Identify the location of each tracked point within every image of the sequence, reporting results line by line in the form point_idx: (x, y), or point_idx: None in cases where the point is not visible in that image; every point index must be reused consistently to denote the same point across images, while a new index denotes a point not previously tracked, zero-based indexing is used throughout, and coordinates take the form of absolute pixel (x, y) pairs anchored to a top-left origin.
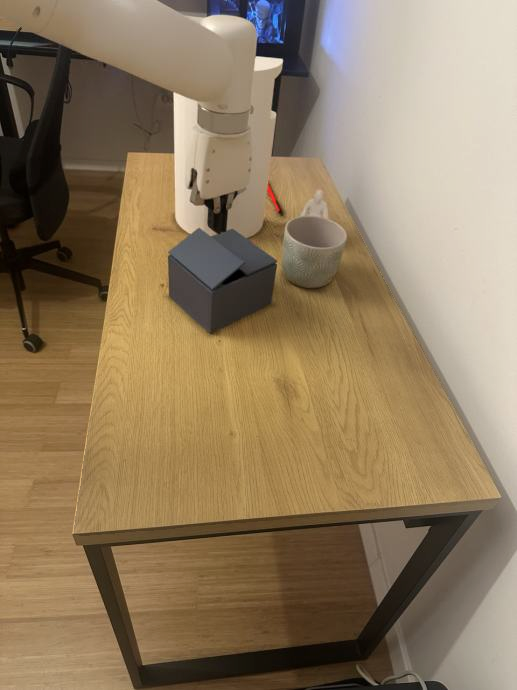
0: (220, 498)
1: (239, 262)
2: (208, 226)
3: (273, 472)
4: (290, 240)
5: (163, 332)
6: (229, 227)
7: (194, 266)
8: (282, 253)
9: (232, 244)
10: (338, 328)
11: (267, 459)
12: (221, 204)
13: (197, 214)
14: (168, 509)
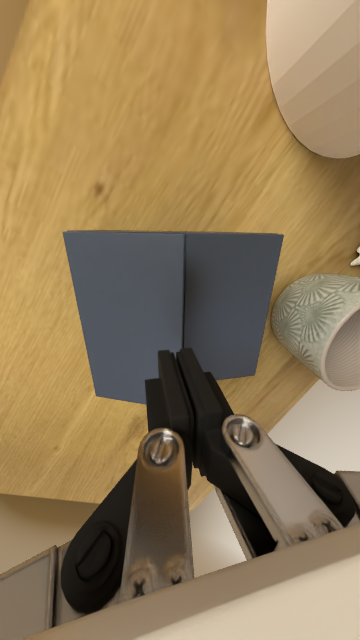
0: (14, 485)
1: None
2: (158, 354)
3: (70, 479)
4: (323, 339)
5: (45, 303)
6: (327, 126)
7: (95, 333)
8: (304, 297)
9: (231, 295)
10: (242, 390)
11: (72, 471)
12: (213, 476)
13: (316, 1)
14: None
